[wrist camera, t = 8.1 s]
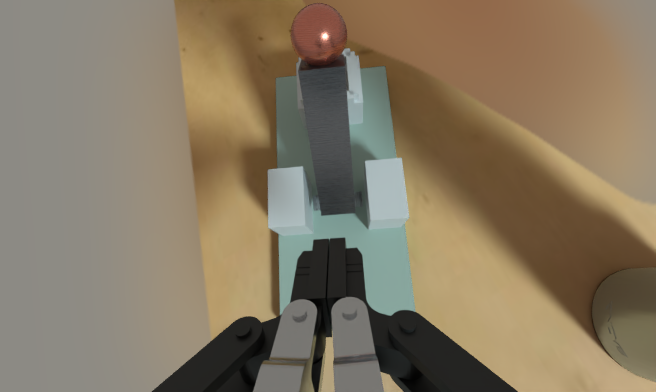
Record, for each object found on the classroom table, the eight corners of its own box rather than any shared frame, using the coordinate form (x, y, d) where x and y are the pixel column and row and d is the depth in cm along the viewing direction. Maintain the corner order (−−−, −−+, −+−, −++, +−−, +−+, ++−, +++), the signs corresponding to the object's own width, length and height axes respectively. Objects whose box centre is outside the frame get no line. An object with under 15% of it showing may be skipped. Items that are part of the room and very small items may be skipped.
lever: (361, 193, 30) (350, -5, 20) (364, 218, 27) (353, 2, 17) (315, 197, 30) (283, 4, 21) (313, 222, 27) (275, 12, 18)
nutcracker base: (383, 77, 36) (389, 30, 29) (413, 321, 29) (429, 335, 22) (280, 88, 36) (262, 45, 30) (285, 327, 30) (264, 342, 23)
